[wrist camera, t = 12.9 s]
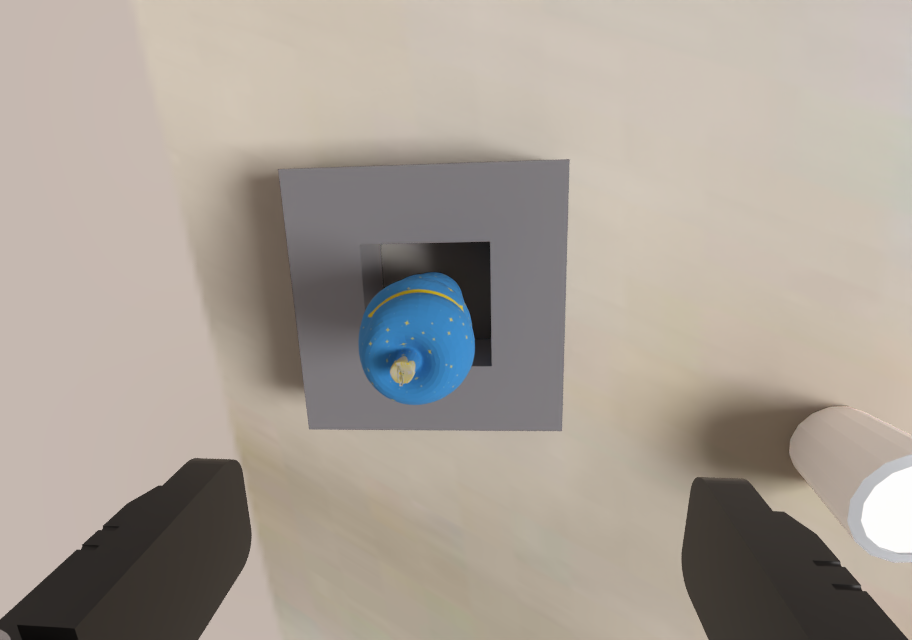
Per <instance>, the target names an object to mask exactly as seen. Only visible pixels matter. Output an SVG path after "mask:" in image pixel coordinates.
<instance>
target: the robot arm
mask: <svg viewBox="0 0 912 640" xmlns="http://www.w3.org/2000/svg"><path fill="white" fill-rule="evenodd" d="M250 546H251V525H250V518H249V511H248V505H247V498H246V491H245V485H244V478H243V472H242V468H241V465H240V464H239V462H238V461H236V460H230V459H228V460H227V459H200V458H194V459H191V460H189V461H188V462H187V463H186V464H185V465H184V466H183V467H181V468H180V469H179V470H178V471H177V472H176V473H175V474H174V475H173V476H172V477H171V478H170V479H169V480H168V481H167V482H166V483H165V484H164V485H163V486H157V487H155V488H154V489H152V490H150V491H149V492H147V493H145V494H143V495H142V496H140V497H138V498H136V499H135V500H133V501H131V502H129V503H128V504H126V505H125V506H124V507H123V508H122V509H121V510H120V511H119V512H118V513H117V514H116V515H114V516H113V517H112V518H111V519H110V520H109V521H108V522H107V523H106V524H104V525H103V529H102V530H98V531H97V532H96V533H95V534H94V535H93V536H92V537H90V538H89V539H88V540H87V541H86V542H85V543H84V544H83V545H82V549H81V550H76V551H75V552H74V553H73V554H72V555H71V556H69V557H68V558H67V559H66V560H65V561H64V562H63V563H62V564H61V565H60V566H58V568H56V569H55V570H54V571H53V572H52V573H51V574H50V575H49V576H48V577H46V578H45V579H44V580H43V581H42V582H41V583H40V584H39V585H38V586H37V587H35V588H34V590H32V591H31V592H30V593H29V594H28V595H27V596H26V597H25V598H23V599H22V601H20V602H19V603H18V604H17V605H16V606H15V607H14V608H13V609H12V610H10V611H9V612H8V613H7V614H6V615H5V616H4V617H3V618H1V619H0V640H198V639H199V637H200V636H201V634H202V633H203V631H204V630H205V628H206V626H207V625H208V623H209V621H210V620H211V619H212V617H213V615H214V614H215V612H216V611H217V609H218V607H219V606H220V604H221V603H222V601H223V599H224V598H225V596H226V595H227V593H228V591H229V590H230V588H231V587H232V585H233V584H234V582H235V580H236V579H237V577H238V576H239V574H240V573H241V571H242V569H243V567H244V565H245V563H246V561H247V558H248V554H249V551H250ZM682 571H683V577H684V582H685V586H686V589H687V592H688V594H689V597H690V599H691V601H692V603H693V606H694V608H695V610H696V612H697V615H698V617H699V619H700V621H701V623H702V626H703V628H704V630H705V632H706V635H707V637H708V639H709V640H908V639H907V638H906V636H905V635H904V634H903V633H902V632H901V631H900V630H899V628H898V627H897V626H896V625H895V624H894V623H893V622H892V620H891V619H890V618H889V617H888V616H887V615H886V614H885V612H884V611H883V610H882V609H881V608H880V607H879V605H878V604H877V603H876V602H875V601H874V600H873V599H872V597H871V596H870V595H869V594H868V593H867V592H866V591H862V590H861V585H860V584H859V583H858V581H857V580H856V579H855V578H854V577H853V576H852V574H851V573H850V572H849V571H848V570H847V569H846V568H845V567H841V564H840V561H839V560H838V558H837V557H836V556H835V555H834V554H833V553H832V551H831V550H830V549H829V548H828V547H827V546H826V545H825V543H824V542H823V541H822V540H821V539H820V538H819V537H818V535H817V534H815V533H814V532H812V531H811V530H809V529H808V528H807V527H805V526H804V525H802V524H801V523H799V522H798V521H796V520H795V519H794V518H792V517H791V516H789V515H788V514H786V513H785V512H777V511H772V510H771V508H770V507H769V506H768V505H767V503H766V502H765V501H764V500H763V498H762V497H761V496H760V495H759V493H758V492H757V491H756V490H755V488H754V487H753V486H752V485H751V484H750V483H749V481H747V480H745V479H735V478H707V477H697V478H696V479H695V480H694V481H693V483H692V486H691V491H690V498H689V505H688V512H687V519H686V526H685V533H684V540H683V547H682Z"/></svg>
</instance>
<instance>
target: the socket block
mask: <svg viewBox="0 0 912 640" xmlns="http://www.w3.org/2000/svg"><path fill="white" fill-rule="evenodd" d="M278 172H279V180H280V189H281V197H282V206H283V214H284V222H285V231H286V239H287V248H288V256H289V264H290V273H291V281H292V290H293V298H294V306H295V315H296V323H297V332H298V340H299V348H300V357H301V365H302V374H303V382H304V390H305V399H306V407H307V416H308V424H309V429H338V430H475V431H562V409H563V373H564V337H565V301H566V265H567V229H568V193H569V159H565V160H536V161H506V162H477V163H448V164H418V165H389V166H360V167H330V168H301V169H278ZM448 242H490V269H491V339H475V354H474V360H473V363H472V366H471V369H470V371H469V373H468V374H467V376H466V378H465V379H464V381H463V382H462V383H461V384H460V386H459V387H458V388H456V389H455V390H454V391H453V392H452V393H450V394H449V395H447V396H446V397H444V398H442V399H440V400H438V401H435V402H432V403H427V404H422V405H407V404H402V403H398V402H396V401H393V400H391V399H389V398H387V397H385V396H384V395H382V394H381V393H380V392H378V391H377V390H376V389H375V388H374V387H373V385H372V384H371V383H370V382H369V380H368V379H367V377H366V375H365V373H364V371H363V368H362V365H361V361H360V357H359V344H358V340H359V330H360V326H361V322H362V318H363V315H364V312H365V310H366V308H367V306H368V304H369V303H370V301H371V300H372V299H373V297H374V296H375V295H376V294H377V293H378V292H380V291H381V290H383V289H384V288H383V273H382V259H381V245H380V244H402V243H448Z"/></svg>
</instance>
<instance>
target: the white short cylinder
mask: <svg viewBox="0 0 912 640" xmlns="http://www.w3.org/2000/svg"><path fill="white" fill-rule="evenodd" d="M789 455H790V457H791V460H792V462H793V465H794V467H795V468H796V469H797V471H798V472H799V473H800V474H801V476H802V477H803V478H804V479H805V481H806V482H807V483H808V484H809V485H810V487H811V488H812V489H813V490H814V492H815V493H816V494H817V495H818V497H819V498H820V499H821V500H822V502H823V503H824V504H825V505H826V506H827V508H828V509H829V510H830V511H831V513H832V514H833V515H834V516H835V518H836V519H837V520H838V521H839V522H840V524H841V525H842V526H843V527H844V529H845V530H846V531H847V532H848V534H849V535H850V536H851V537H852V538H853V540H854V541H855V542H856V543H857V544H859V545H860V546H861V547H862V548H863V549H864V550H865V551H867V552H868V553H869V554H870V555H872V556H875V557H878V558H881V559H884V560H887V561H890V562H912V435H911V434H909V433H907V432H905V431H903V430H901V429H899V428H897V427H894V426H892V425H890V424H888V423H886V422H884V421H882V420H880V419H878V418H876V417H874V416H872V415H870V414H868V413H866V412H864V411H861V410H858V409H855V408H852V407H849V406H835V407H828V408H825V409H822V410H820V411H817V412H814V413H812V414H811V415H810V416H808V417H807V418H806V419H805V420H804V421H802V422H801V423H800V424H799V425H798V426H797V428H796V430H795V432H794V433H793V435H792V437H791V439H790V448H789Z"/></svg>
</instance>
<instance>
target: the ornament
mask: <svg viewBox="0 0 912 640" xmlns="http://www.w3.org/2000/svg"><path fill="white" fill-rule="evenodd" d="M358 344H359V357H360V361H361V365H362V368H363V371H364V373H365V375H366V377H367V379H368V380H369V382H370V383H371V384H372V385H373V387H374V388H375V389H376V390H377V391H378V392H380V393H381V394H382V395H384V396H385V397H387V398H389V399H391V400H393V401H396V402H398V403H402V404H407V405H422V404H427V403H432V402H435V401H438V400H440V399H442V398H444V397H446V396H447V395H449V394H450V393H452V392H453V391H454V390H455V389H456V388H458V387H459V386H460V384H461V383H462V382H463V381H464V379H465V378H466V376H467V374H468V373H469V371H470V369H471V366H472V363H473V360H474V354H475V339H474V333H473V329H472V321H471V317H470V313H469V311H468V308H467V306H466V304H465V302H464V299H463V296H462V292H461V289H460V287H459V286H458V284H457V283H456V282H455V281H454V280H453V279H452V278H451V277H449V276H447V275H445V274H443V273H438V272H427V273H423V274H416V275H412V276H409V277H406V278H404V279H403V280H400V281H397V282H395V283H393V284H390V285H389V286H387V287H385V288H384V289H383V290H381V291H380V292H378V293H377V294H376V295H375V296H374V297H373V299H372V300H371V301H370V303H369V304H368V306H367V308H366V310H365V312H364V315H363V318H362V322H361V326H360V330H359V340H358Z"/></svg>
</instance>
